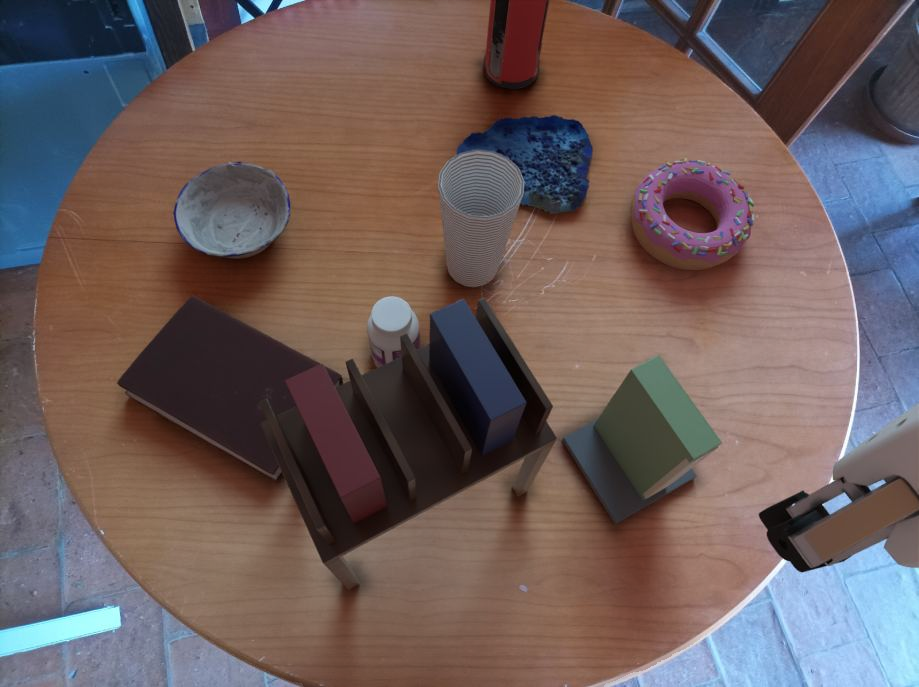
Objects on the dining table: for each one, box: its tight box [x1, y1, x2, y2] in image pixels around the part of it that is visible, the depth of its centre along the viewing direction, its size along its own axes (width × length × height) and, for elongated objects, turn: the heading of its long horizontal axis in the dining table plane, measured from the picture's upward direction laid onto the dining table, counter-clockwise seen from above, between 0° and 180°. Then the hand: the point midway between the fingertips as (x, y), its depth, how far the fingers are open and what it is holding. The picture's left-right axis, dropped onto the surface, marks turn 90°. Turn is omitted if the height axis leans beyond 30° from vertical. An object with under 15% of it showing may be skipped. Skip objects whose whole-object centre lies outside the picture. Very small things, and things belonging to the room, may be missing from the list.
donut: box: [630, 157, 755, 271], centre depth 84 cm, size 14×14×5 cm
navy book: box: [428, 298, 526, 456], centre depth 52 cm, size 9×3×8 cm, turn 28°
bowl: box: [172, 161, 291, 260], centre depth 81 cm, size 13×13×5 cm
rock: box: [454, 114, 594, 215], centre depth 88 cm, size 15×17×2 cm
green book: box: [594, 354, 723, 500], centre depth 65 cm, size 9×3×15 cm, turn 29°
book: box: [116, 295, 344, 483], centre depth 73 cm, size 12×19×3 cm, turn 61°
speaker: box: [482, 0, 550, 90], centre depth 88 cm, size 8×8×18 cm
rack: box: [259, 297, 558, 591], centre depth 60 cm, size 12×20×24 cm, turn 119°
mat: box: [561, 419, 698, 525], centre depth 73 cm, size 10×10×1 cm
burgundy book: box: [285, 362, 387, 524], centre depth 50 cm, size 9×3×8 cm, turn 29°
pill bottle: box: [366, 295, 421, 368], centre depth 73 cm, size 5×5×10 cm
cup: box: [437, 150, 524, 288], centre depth 75 cm, size 8×8×16 cm
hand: (855, 493), depth 35 cm, fingers open, 9 cm apart
